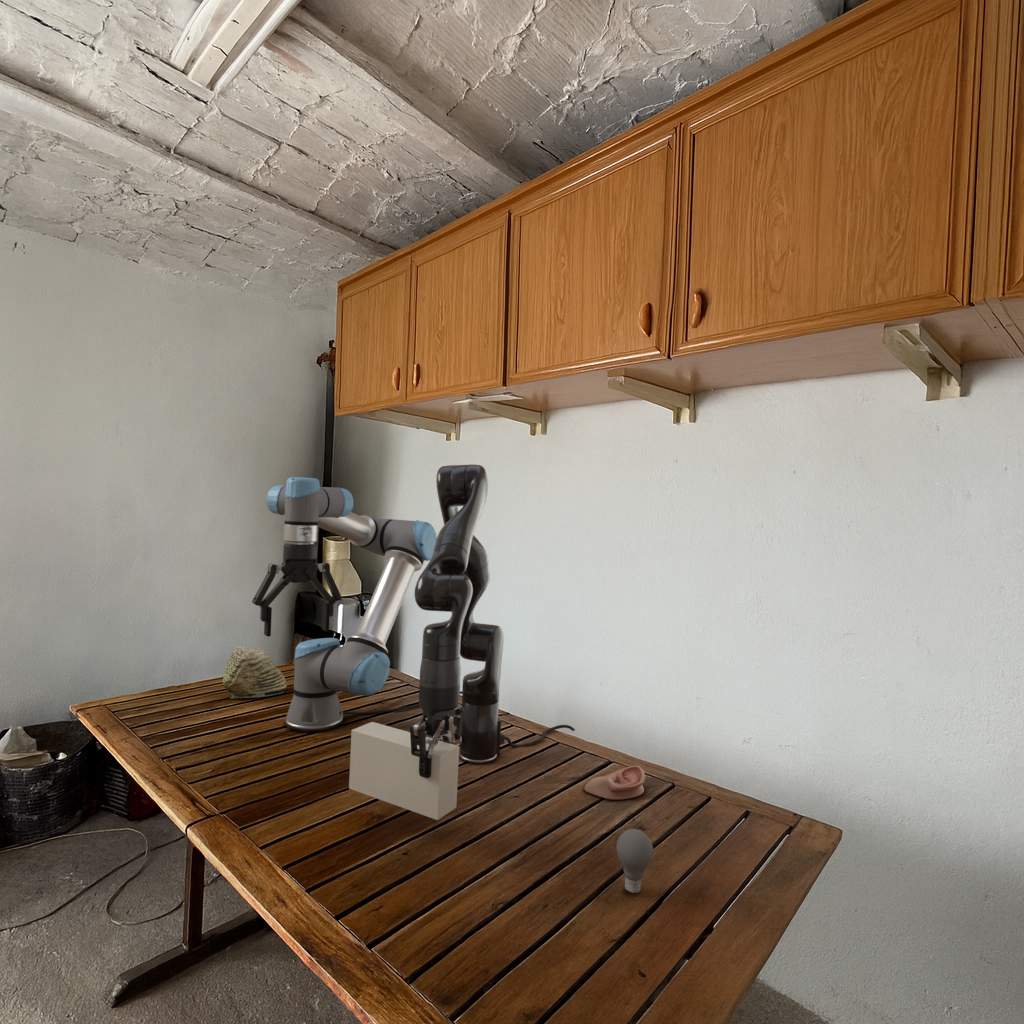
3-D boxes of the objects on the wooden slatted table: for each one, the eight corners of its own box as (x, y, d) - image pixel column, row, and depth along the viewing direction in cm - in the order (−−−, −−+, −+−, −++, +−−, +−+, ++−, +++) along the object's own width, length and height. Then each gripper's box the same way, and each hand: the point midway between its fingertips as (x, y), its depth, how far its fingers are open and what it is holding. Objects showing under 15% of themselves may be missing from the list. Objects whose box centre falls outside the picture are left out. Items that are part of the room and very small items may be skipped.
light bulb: (610, 879, 108) (613, 822, 108) (644, 879, 109) (647, 822, 109) (619, 902, 102) (622, 840, 102) (655, 901, 103) (658, 840, 103)
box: (348, 788, 124) (351, 730, 124) (369, 777, 130) (372, 721, 129) (437, 820, 114) (440, 756, 114) (456, 807, 119) (459, 746, 119)
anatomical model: (583, 778, 139) (588, 757, 150) (582, 795, 139) (587, 774, 150) (645, 786, 136) (645, 764, 147) (644, 804, 136) (644, 781, 148)
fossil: (218, 695, 195) (220, 647, 195) (278, 685, 208) (279, 640, 207) (228, 703, 189) (230, 653, 188) (289, 692, 201) (290, 645, 201)
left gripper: (248, 544, 139) (245, 640, 139) (357, 543, 153) (353, 631, 154) (240, 541, 145) (237, 634, 145) (345, 541, 159) (342, 625, 160)
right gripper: (432, 693, 109) (428, 790, 110) (477, 675, 122) (474, 762, 122) (399, 685, 113) (394, 779, 113) (446, 669, 126) (442, 753, 126)
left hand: (297, 632), depth 149 cm, fingers open, 13 cm apart
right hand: (436, 770), depth 118 cm, fingers closed on box, 6 cm apart
